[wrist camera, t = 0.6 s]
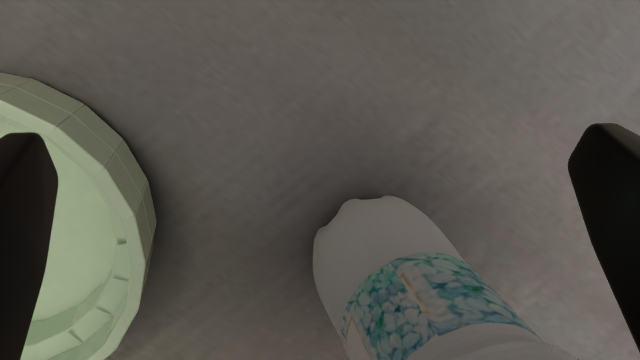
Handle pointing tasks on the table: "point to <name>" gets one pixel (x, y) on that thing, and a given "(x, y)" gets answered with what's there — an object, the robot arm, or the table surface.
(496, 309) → the bottle
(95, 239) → the bowl
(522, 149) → the table surface
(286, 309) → the table surface
